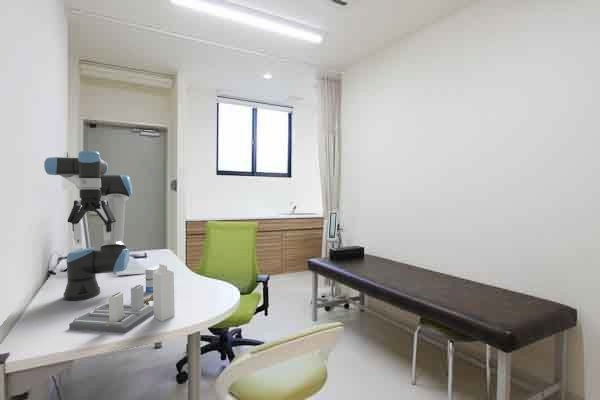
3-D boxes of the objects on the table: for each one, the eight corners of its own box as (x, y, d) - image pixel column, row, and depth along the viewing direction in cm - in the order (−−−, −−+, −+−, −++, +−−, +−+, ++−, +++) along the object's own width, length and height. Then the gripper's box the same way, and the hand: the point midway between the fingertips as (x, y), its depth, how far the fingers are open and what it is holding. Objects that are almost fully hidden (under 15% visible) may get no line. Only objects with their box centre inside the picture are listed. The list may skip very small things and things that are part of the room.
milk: (167, 313, 134) (166, 262, 133) (174, 316, 131) (174, 264, 130) (153, 317, 129) (152, 265, 129) (161, 321, 126) (160, 267, 125)
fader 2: (131, 311, 130) (130, 287, 129) (137, 308, 134) (137, 284, 133) (137, 312, 129) (137, 287, 129) (144, 308, 133) (143, 284, 133)
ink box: (153, 292, 160) (153, 269, 160) (145, 291, 161) (144, 269, 161) (164, 287, 169) (163, 265, 168) (156, 286, 170) (155, 265, 169)
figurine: (126, 314, 138) (162, 301, 144) (123, 305, 137) (159, 292, 143) (126, 311, 141) (161, 299, 147) (123, 302, 140) (159, 290, 147)
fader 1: (109, 321, 120) (108, 295, 120) (117, 317, 124) (116, 292, 124) (116, 322, 120) (115, 296, 119) (123, 317, 124) (123, 292, 123)
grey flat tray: (69, 328, 119) (69, 320, 119) (108, 308, 139) (108, 301, 139) (126, 332, 116) (126, 323, 116) (158, 311, 136) (157, 303, 136)
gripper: (55, 188, 127) (57, 240, 128) (111, 188, 124) (112, 241, 125) (71, 188, 134) (73, 237, 135) (124, 188, 131) (125, 238, 132)
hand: (92, 239), depth 130 cm, fingers open, 13 cm apart
